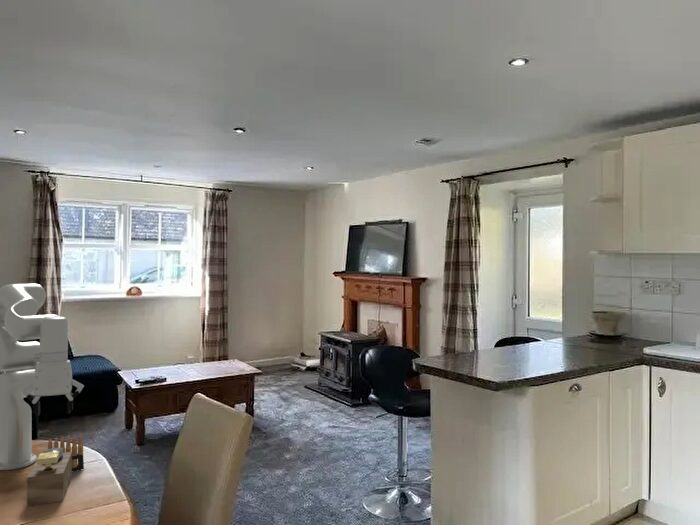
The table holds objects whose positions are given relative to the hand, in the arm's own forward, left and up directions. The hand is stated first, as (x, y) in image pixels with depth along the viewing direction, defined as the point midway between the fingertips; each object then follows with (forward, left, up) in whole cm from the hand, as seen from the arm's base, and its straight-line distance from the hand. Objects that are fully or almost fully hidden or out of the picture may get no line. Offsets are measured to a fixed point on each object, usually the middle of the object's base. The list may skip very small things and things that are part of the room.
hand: (53, 413), depth 161 cm
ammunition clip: (-10, +2, -22) cm, 24 cm away
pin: (0, 0, -21) cm, 21 cm away
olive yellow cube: (+9, 0, -14) cm, 17 cm away
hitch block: (+4, 0, -22) cm, 22 cm away
